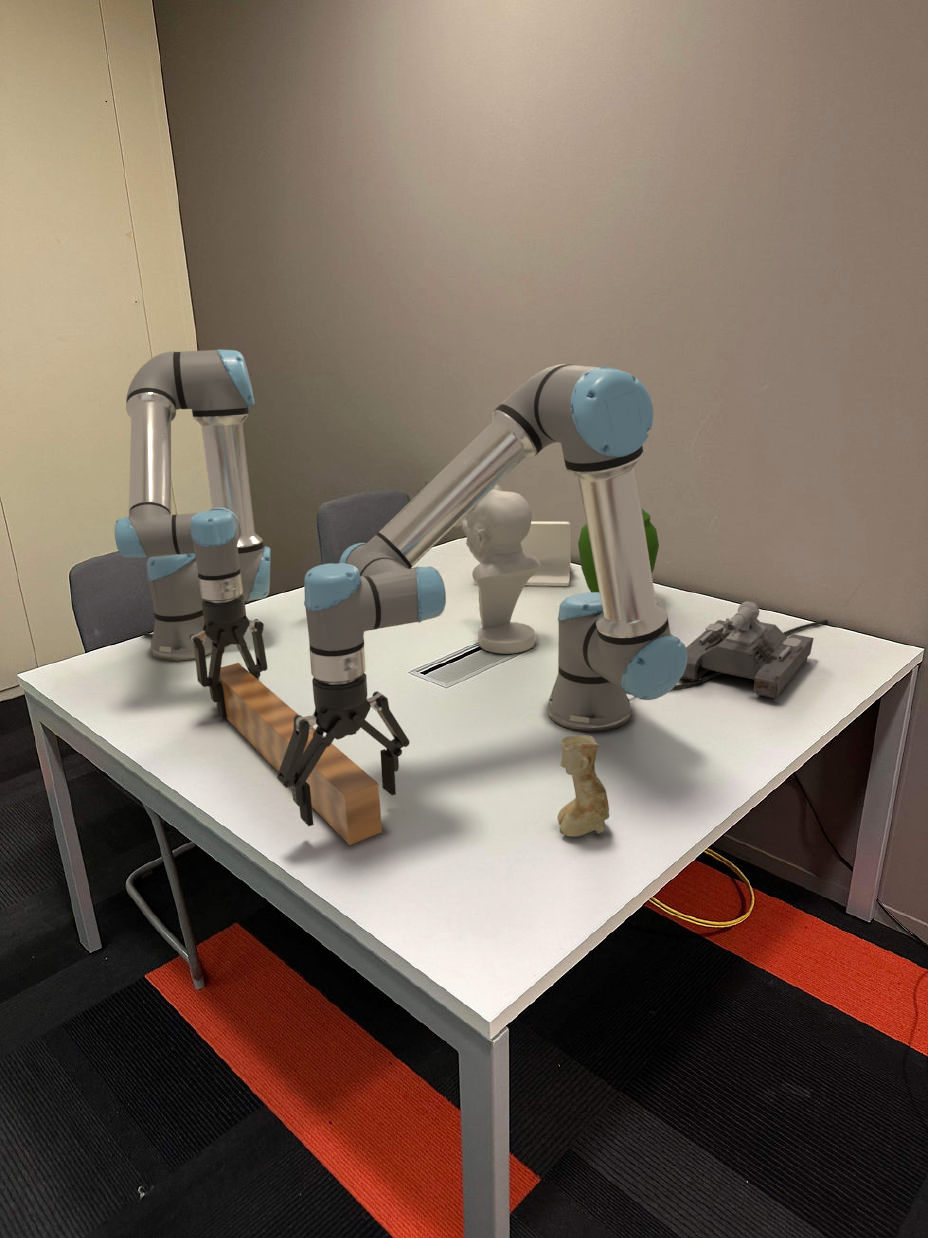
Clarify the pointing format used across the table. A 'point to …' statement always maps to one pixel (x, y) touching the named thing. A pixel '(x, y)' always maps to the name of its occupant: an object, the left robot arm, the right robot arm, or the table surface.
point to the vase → (587, 556)
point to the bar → (335, 778)
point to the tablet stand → (549, 552)
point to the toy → (748, 652)
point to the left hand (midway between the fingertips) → (238, 710)
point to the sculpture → (583, 788)
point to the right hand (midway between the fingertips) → (349, 806)
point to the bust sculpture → (500, 567)
